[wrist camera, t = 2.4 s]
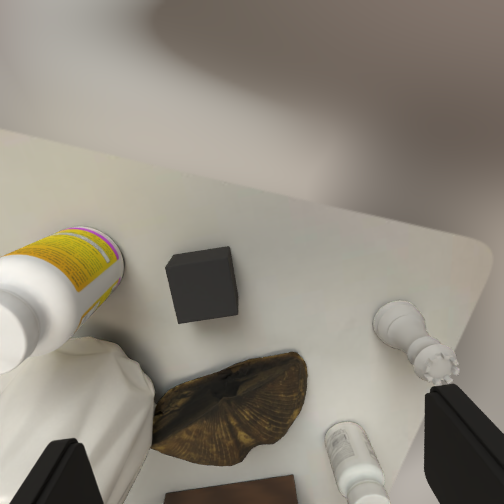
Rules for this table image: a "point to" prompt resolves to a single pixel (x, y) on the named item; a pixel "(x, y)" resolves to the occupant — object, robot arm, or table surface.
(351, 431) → the pill bottle
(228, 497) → the box
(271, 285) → the table surface
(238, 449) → the seashell
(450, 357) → the rook chess piece
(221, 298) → the black cube
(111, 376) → the vase
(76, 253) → the supplement bottle
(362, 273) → the table surface
